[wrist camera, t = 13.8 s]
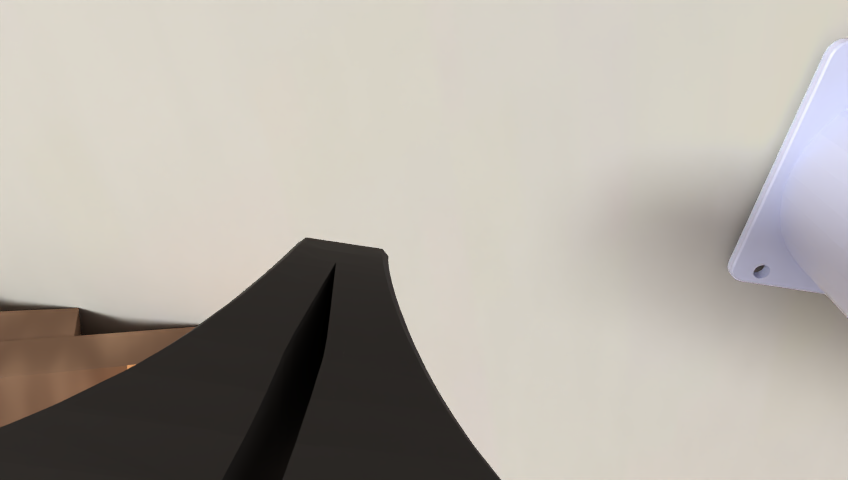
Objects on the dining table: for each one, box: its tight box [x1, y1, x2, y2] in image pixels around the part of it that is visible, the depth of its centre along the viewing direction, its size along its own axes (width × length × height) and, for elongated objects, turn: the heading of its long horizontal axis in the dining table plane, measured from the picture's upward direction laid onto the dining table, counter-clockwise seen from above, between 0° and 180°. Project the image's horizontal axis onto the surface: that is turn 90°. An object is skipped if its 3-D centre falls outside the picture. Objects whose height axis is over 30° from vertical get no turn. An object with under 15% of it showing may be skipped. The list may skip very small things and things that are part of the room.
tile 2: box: [0, 327, 195, 427], centre depth 23 cm, size 2×5×8 cm
